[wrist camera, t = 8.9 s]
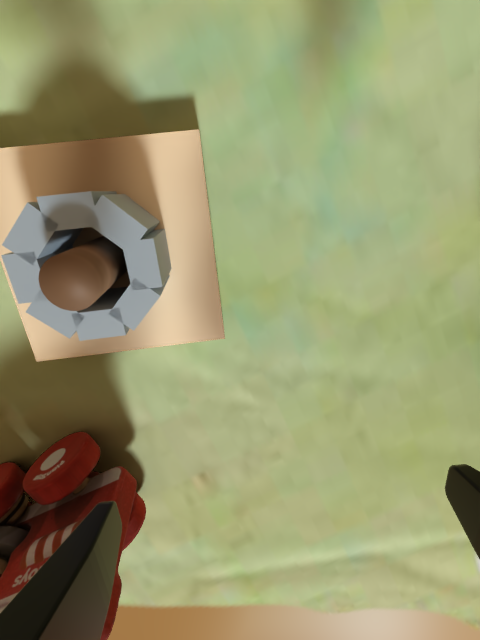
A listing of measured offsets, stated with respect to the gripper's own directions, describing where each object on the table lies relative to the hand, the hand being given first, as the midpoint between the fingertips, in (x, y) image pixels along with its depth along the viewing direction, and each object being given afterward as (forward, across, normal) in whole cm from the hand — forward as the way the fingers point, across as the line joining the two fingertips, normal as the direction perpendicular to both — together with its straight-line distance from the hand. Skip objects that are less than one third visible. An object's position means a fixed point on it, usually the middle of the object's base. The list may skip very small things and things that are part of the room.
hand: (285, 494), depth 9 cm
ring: (+10, +6, -5) cm, 13 cm away
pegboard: (+11, +7, -5) cm, 14 cm away
